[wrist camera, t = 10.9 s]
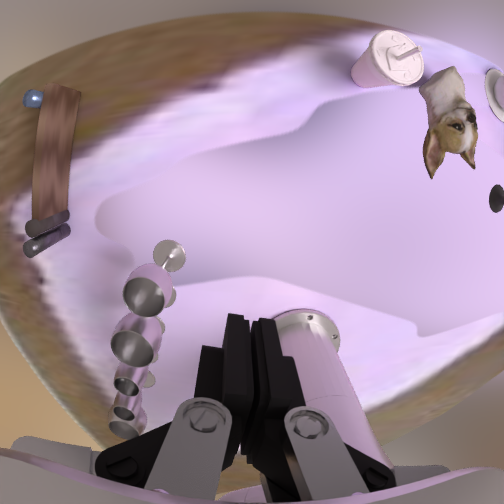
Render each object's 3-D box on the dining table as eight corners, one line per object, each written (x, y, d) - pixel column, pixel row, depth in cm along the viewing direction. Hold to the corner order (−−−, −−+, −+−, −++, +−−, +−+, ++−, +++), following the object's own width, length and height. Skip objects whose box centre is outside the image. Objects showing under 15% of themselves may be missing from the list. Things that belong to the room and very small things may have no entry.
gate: (69, 222, 35) (37, 238, 27) (58, 220, 35) (25, 236, 27) (83, 91, 29) (51, 81, 22) (71, 92, 29) (38, 83, 22)
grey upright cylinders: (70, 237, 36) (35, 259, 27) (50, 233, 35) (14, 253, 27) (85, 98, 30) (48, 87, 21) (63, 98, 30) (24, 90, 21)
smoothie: (331, 76, 31) (380, 40, 18) (356, 44, 29) (408, 4, 16) (370, 107, 32) (434, 91, 19) (392, 75, 31) (456, 51, 18)
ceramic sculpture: (486, 66, 22) (503, 175, 28) (449, 72, 30) (465, 165, 36) (431, 63, 23) (453, 188, 28) (395, 73, 31) (416, 176, 36)
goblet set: (153, 232, 36) (114, 271, 24) (195, 246, 37) (175, 292, 25) (125, 382, 44) (102, 439, 32) (156, 393, 45) (140, 452, 33)
